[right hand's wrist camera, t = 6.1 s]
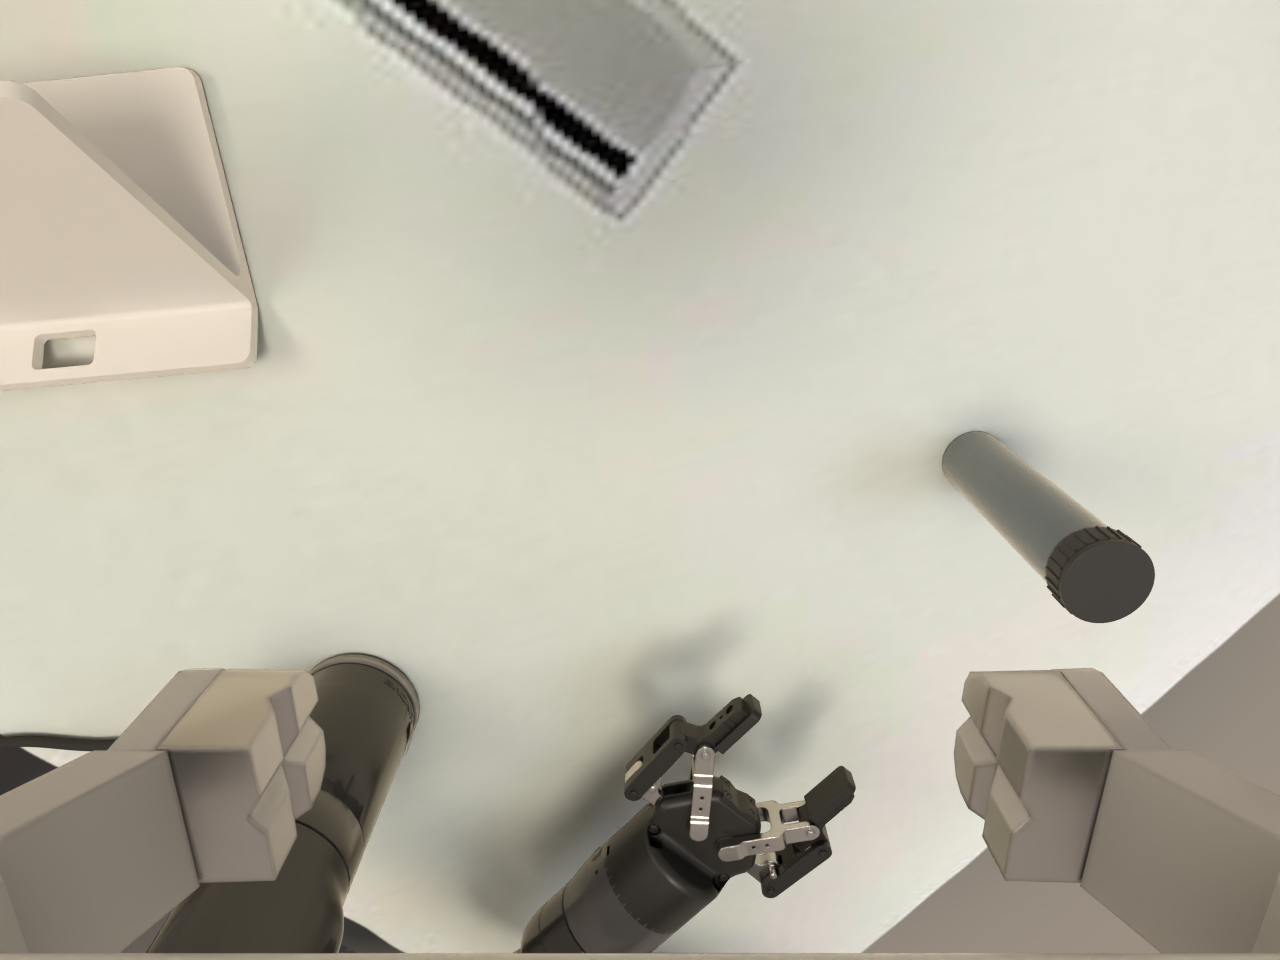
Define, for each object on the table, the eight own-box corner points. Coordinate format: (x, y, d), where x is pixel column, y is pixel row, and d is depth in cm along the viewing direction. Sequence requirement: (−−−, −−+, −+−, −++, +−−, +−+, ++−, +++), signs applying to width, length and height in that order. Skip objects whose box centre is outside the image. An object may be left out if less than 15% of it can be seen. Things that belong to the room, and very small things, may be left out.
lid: (1107, 616, 46) (1126, 635, 44) (1027, 592, 45) (1043, 609, 43) (1153, 540, 44) (1174, 556, 42) (1070, 513, 44) (1089, 529, 42)
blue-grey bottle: (986, 495, 61) (1120, 625, 44) (931, 478, 61) (1045, 603, 44) (1013, 441, 60) (1163, 555, 43) (958, 423, 59) (1086, 530, 42)
